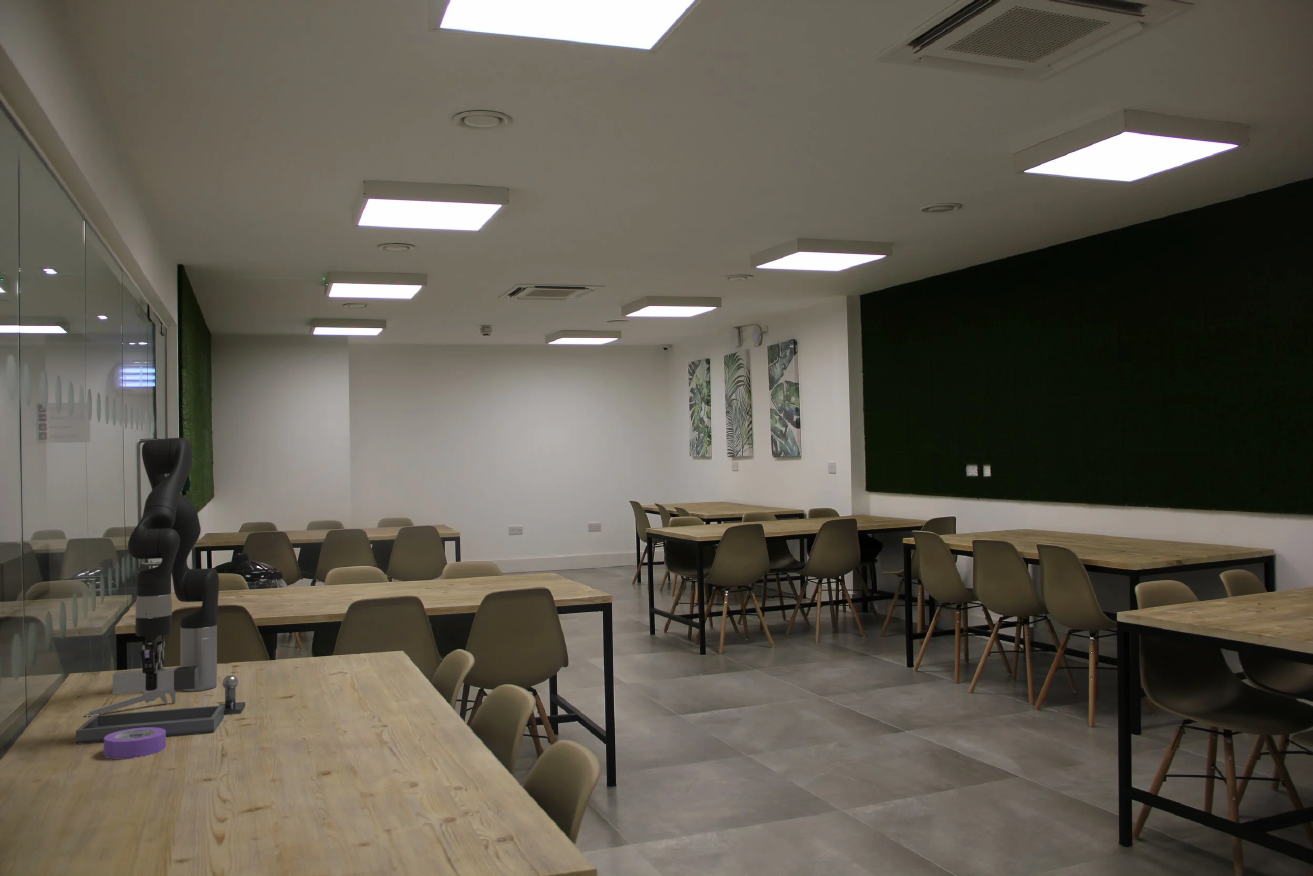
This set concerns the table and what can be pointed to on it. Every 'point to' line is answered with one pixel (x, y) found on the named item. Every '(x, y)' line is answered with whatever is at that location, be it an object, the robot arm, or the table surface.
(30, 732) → the table surface
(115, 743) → the masking tape
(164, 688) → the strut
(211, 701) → the table surface
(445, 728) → the table surface
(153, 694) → the caliper
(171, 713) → the tray
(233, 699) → the ball stud
